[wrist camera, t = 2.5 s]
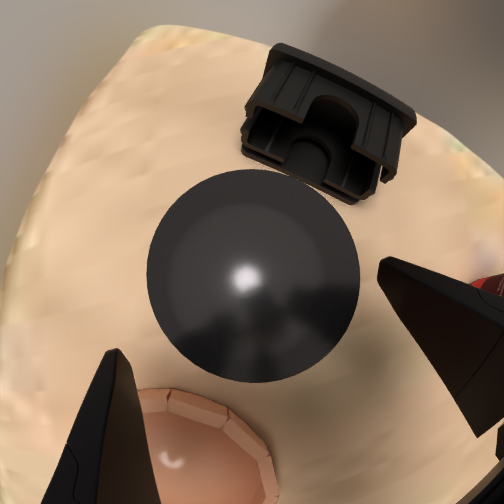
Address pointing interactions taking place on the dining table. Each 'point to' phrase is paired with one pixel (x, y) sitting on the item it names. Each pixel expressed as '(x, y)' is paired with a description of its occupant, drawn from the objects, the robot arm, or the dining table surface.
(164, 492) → the terracotta dish
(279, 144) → the end cap
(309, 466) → the dining table surface
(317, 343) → the pepper mill
